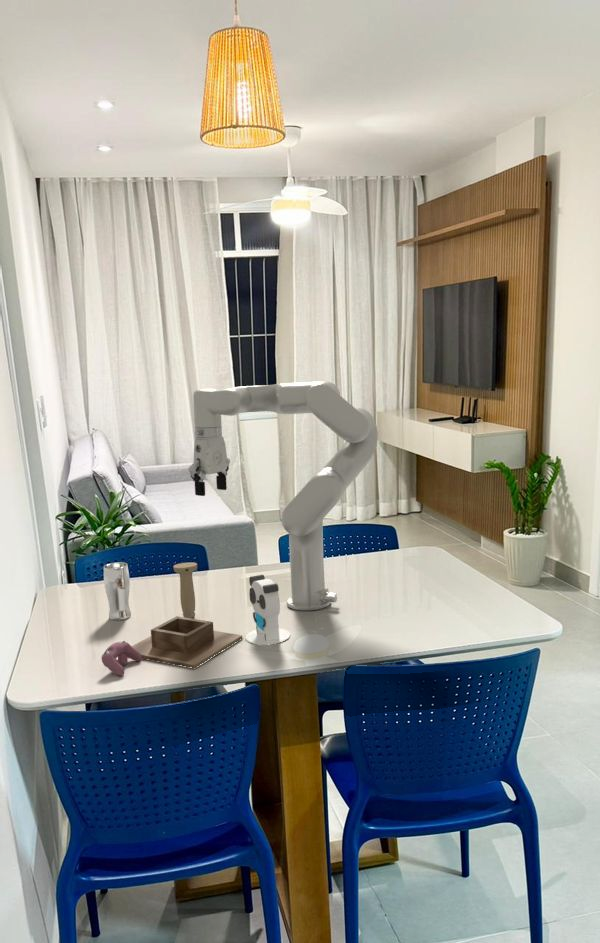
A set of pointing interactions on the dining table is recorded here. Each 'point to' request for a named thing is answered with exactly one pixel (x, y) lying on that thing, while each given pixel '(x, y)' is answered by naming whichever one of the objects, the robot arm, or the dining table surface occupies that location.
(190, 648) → the holder
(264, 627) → the panda figurine
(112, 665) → the video game controller
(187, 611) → the handle
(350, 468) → the robot arm
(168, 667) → the dining table surface
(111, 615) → the beer glass
